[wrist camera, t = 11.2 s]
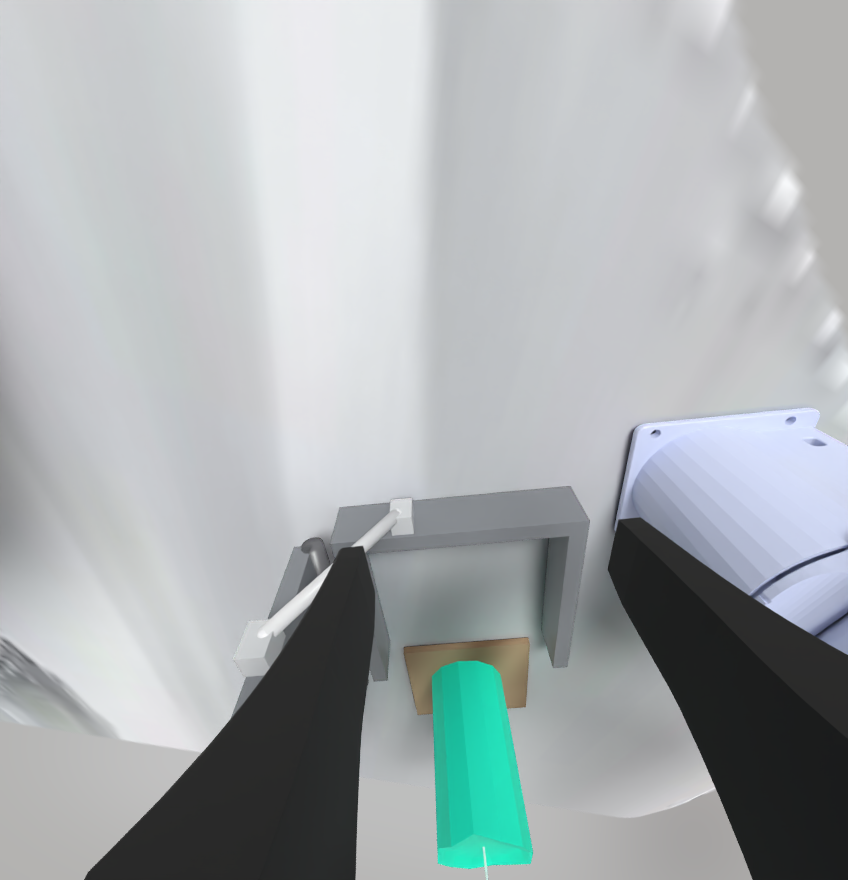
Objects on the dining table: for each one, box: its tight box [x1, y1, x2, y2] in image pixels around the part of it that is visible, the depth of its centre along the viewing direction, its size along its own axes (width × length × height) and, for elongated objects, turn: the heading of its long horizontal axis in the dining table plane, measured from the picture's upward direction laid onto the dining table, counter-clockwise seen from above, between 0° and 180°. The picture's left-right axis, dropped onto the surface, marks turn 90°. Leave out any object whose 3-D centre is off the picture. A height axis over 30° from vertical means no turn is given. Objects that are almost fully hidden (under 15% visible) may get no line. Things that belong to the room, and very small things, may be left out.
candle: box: [432, 661, 533, 880], centre depth 27 cm, size 6×6×12 cm
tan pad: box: [404, 638, 530, 715], centre depth 33 cm, size 10×10×1 cm
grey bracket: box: [231, 486, 590, 718], centre depth 19 cm, size 16×15×17 cm
